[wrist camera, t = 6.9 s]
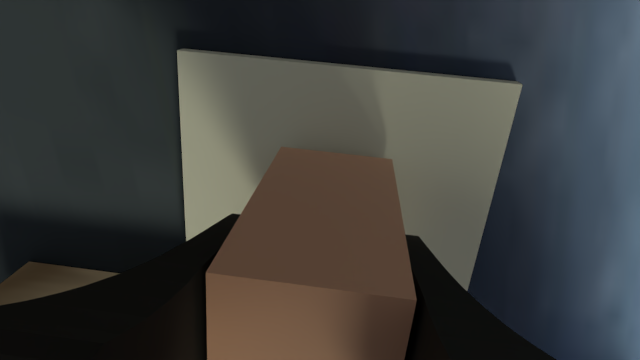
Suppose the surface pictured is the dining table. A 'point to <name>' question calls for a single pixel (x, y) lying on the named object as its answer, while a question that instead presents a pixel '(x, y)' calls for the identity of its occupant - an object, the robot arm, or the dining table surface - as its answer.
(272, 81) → the mat
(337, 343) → the terracotta block
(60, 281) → the pocket block
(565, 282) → the dining table surface
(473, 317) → the robot arm
